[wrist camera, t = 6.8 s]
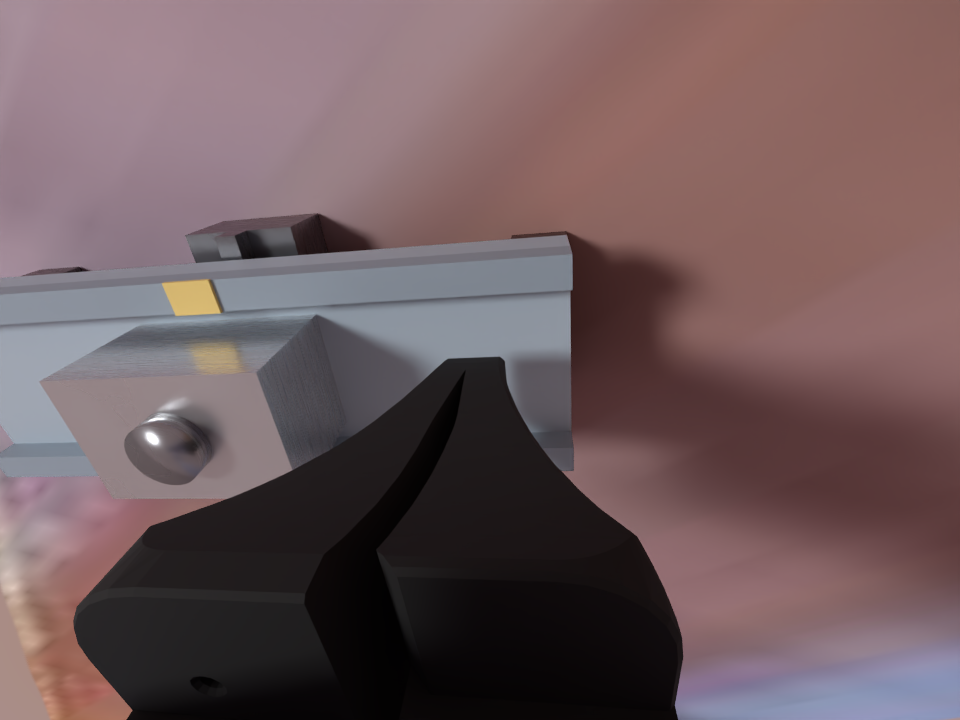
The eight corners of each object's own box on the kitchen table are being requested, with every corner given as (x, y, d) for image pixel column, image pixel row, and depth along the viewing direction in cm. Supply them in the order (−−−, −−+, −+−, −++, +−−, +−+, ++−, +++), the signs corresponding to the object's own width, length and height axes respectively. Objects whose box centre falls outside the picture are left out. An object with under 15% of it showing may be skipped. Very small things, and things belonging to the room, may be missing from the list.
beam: (569, 432, 14) (573, 473, 13) (54, 444, 17) (5, 479, 15) (566, 234, 11) (572, 254, 10) (-54, 281, 14) (-129, 304, 12)
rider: (347, 422, 14) (293, 514, 10) (190, 426, 14) (96, 514, 11) (316, 313, 12) (242, 386, 9) (141, 323, 13) (16, 394, 10)
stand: (568, 403, 17) (572, 447, 14) (120, 413, 19) (69, 450, 17) (565, 192, 13) (570, 208, 11) (22, 238, 16) (-57, 258, 14)
